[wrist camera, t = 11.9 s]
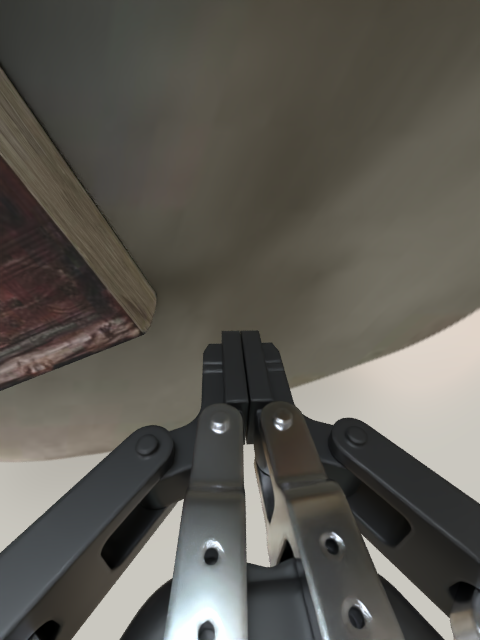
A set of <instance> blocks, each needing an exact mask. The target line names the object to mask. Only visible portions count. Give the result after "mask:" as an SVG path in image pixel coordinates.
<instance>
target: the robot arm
mask: <svg viewBox="0 0 480 640" xmlns="http://www.w3.org/2000/svg"><path fill="white" fill-rule="evenodd" d="M245 437H246V443H247V444H254V450H255V460H254V468H255V473H256V478H257V483H258V487H259V493H260V498H261V503H262V508H263V513H264V518H265V523H266V531H267V547H268V554H269V560H270V566H271V567H263V566H258V565H255V564H251V563H247V562H246V561H247V560H246V506H245V490H244V472H243V445H244V444H245ZM182 499H184V502H183V510H182V516H181V523H180V531H179V538H178V545H177V551H176V559H175V566H174V572H173V578H172V579H170V580H169V581H167V582H166V583H165V584H164V585H162V586H161V587H160V588H159V589H158V590H156V591H155V592H154V593H153V594H152V595H151V596H150V597H149V598H148V600H147V601H146V602H145V603H144V605H143V606H142V607H141V608H140V609H139V611H138V612H137V614H136V615H135V617H134V618H133V620H132V621H131V623H130V624H129V626H128V627H127V629H126V630H125V632H124V634H123V635H122V637H121V638H120V640H444V639H443V638H442V636H441V635H440V634H439V633H438V632H437V631H436V630H435V629H434V628H433V627H432V626H431V625H430V624H429V623H428V622H427V621H426V620H425V619H424V618H423V617H422V615H421V614H420V613H419V612H418V611H417V610H416V609H415V608H414V607H413V606H412V605H411V604H410V603H409V602H408V601H407V600H406V599H405V598H404V597H403V596H402V594H401V593H400V592H399V591H398V590H397V589H396V588H395V587H394V586H393V585H391V584H390V583H389V582H388V581H387V580H386V579H385V578H383V577H382V576H380V575H379V574H377V571H376V569H375V567H374V564H373V562H372V559H371V557H370V554H369V552H368V549H367V547H366V545H365V542H364V540H363V537H362V535H363V536H364V537H365V538H366V539H367V540H369V542H371V543H372V544H373V545H374V546H375V547H376V548H377V549H378V550H379V551H380V552H381V553H382V554H383V555H384V556H385V557H386V558H387V559H389V561H390V562H391V563H392V564H394V565H395V566H396V567H397V568H398V569H399V570H400V571H401V572H402V573H403V574H404V575H405V576H406V577H407V578H408V579H409V580H410V581H411V582H412V583H413V584H414V585H416V586H417V587H418V588H419V589H420V590H421V591H422V592H423V593H424V594H425V595H426V596H427V597H428V598H429V599H430V600H431V601H432V602H433V603H434V604H435V605H436V606H438V607H439V608H440V609H441V610H442V611H443V612H444V613H445V614H446V615H447V616H448V617H449V618H450V623H451V628H452V632H453V635H454V640H480V504H479V503H478V502H476V501H475V500H473V499H472V498H471V497H469V496H468V495H466V494H465V493H463V492H462V491H461V490H459V489H458V488H456V487H455V486H454V485H452V484H451V483H449V482H448V481H446V480H445V479H444V478H442V477H441V476H439V475H438V474H436V473H435V472H434V471H432V470H431V469H430V468H428V467H427V466H425V465H424V464H422V463H421V462H420V461H418V460H417V459H415V458H414V457H413V456H411V455H410V454H408V453H407V452H406V451H404V450H403V449H401V448H400V447H398V446H397V445H396V444H394V443H393V442H391V441H390V440H388V439H387V438H386V437H384V436H383V435H381V434H380V433H378V432H377V431H376V430H374V429H373V428H372V427H370V426H369V425H367V424H366V423H364V422H362V421H360V420H357V419H354V418H342V419H340V420H338V421H337V422H336V423H335V424H334V425H330V424H326V423H322V422H318V421H315V420H312V419H310V418H308V417H306V416H305V415H303V414H302V413H301V411H300V410H299V409H298V408H297V407H296V406H295V405H294V402H293V399H292V395H291V391H290V388H289V384H288V381H287V377H286V374H285V371H284V367H283V363H282V360H281V356H280V353H279V351H278V349H277V348H276V347H275V346H274V345H273V344H272V343H261V339H260V334H259V331H258V330H257V331H222V344H209V345H208V346H207V348H206V349H205V351H204V353H203V377H202V404H201V410H200V412H199V414H198V416H197V417H196V418H195V419H194V420H193V421H192V422H191V423H189V424H187V425H186V426H183V427H181V428H178V429H175V430H172V431H167V430H166V429H165V428H163V427H161V426H156V425H150V426H145V427H142V428H140V429H138V430H136V431H135V432H133V433H132V434H131V435H130V436H129V437H127V438H126V439H125V440H124V441H123V442H122V443H121V444H120V445H119V446H118V447H116V448H115V449H114V450H113V451H112V452H111V453H110V454H109V455H108V456H107V457H106V458H104V459H103V460H102V461H101V462H100V463H99V464H98V465H97V466H96V467H94V468H93V469H92V470H91V471H90V472H89V473H88V474H87V475H86V476H84V477H83V478H82V479H81V480H80V481H79V482H78V483H77V484H76V485H75V486H74V487H72V489H70V490H69V491H68V492H67V493H66V494H65V495H64V496H62V497H61V498H60V499H59V500H58V501H57V502H56V503H55V504H54V505H53V506H51V507H50V508H49V509H48V510H47V511H46V512H45V513H44V514H43V515H42V516H41V517H39V518H38V519H37V520H36V521H35V522H34V523H33V524H32V525H31V526H29V527H28V528H27V529H26V530H25V531H24V532H23V533H22V534H21V535H19V536H18V537H17V538H16V539H15V540H14V541H13V542H12V543H11V544H10V545H8V546H7V547H6V548H5V549H4V550H3V551H2V552H1V553H0V640H71V639H72V638H73V637H74V635H75V634H76V633H77V631H78V630H79V629H80V627H81V626H82V625H83V624H84V622H85V621H86V620H87V618H88V617H89V616H90V615H91V613H92V612H93V611H94V609H95V608H96V607H97V606H98V604H99V603H100V602H101V600H102V599H103V598H104V596H105V595H106V594H107V593H108V591H109V590H110V589H111V587H112V586H113V585H114V584H115V582H116V581H117V580H118V579H119V577H120V576H121V575H122V573H123V572H124V571H125V570H126V568H127V567H128V566H129V564H130V563H131V562H132V561H133V559H134V558H135V557H136V555H137V554H138V553H139V552H140V550H141V549H142V548H143V546H144V545H145V543H147V541H148V540H149V539H150V537H151V536H152V535H153V534H154V532H155V531H156V530H157V528H158V527H159V526H160V524H161V523H162V522H163V521H164V519H165V518H166V517H167V516H168V514H169V513H170V512H171V510H172V509H173V508H174V506H175V505H176V503H177V502H178V501H180V500H182ZM361 534H362V535H361Z"/></svg>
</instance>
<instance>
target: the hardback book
mask: <svg viewBox="0 0 480 640" xmlns="http://www.w3.org/2000/svg"><path fill="white" fill-rule="evenodd" d="M156 298H157V294H156V293H155V292H154V290H153V289H152V287H151V286H150V284H149V283H148V281H147V280H146V278H145V277H144V276H143V274H142V273H141V271H140V270H139V268H138V267H137V265H136V264H135V262H134V261H133V259H132V258H131V257H130V255H129V254H128V252H127V251H126V249H125V248H124V246H123V245H122V243H121V242H120V241H119V239H118V238H117V236H116V235H115V233H114V232H113V230H112V229H111V227H110V226H109V224H108V223H107V222H106V220H105V219H104V217H103V216H102V214H101V213H100V211H99V210H98V208H97V207H96V205H95V204H94V203H93V201H92V200H91V198H90V197H89V195H88V194H87V192H86V191H85V189H84V188H83V187H82V185H81V184H80V182H79V181H78V179H77V178H76V176H75V175H74V173H73V172H72V170H71V169H70V168H69V166H68V165H67V163H66V162H65V160H64V159H63V157H62V156H61V154H60V153H59V151H58V150H57V149H56V147H55V146H54V144H53V143H52V141H51V140H50V138H49V137H48V135H47V134H46V133H45V131H44V130H43V128H42V127H41V125H40V124H39V122H38V121H37V119H36V118H35V116H34V115H33V114H32V112H31V111H30V109H29V108H28V106H27V105H26V103H25V102H24V100H23V99H22V98H21V96H20V95H19V93H18V92H17V90H16V89H15V87H14V86H13V84H12V83H11V81H10V80H9V79H8V77H7V76H6V74H5V73H4V71H3V70H2V68H1V67H0V391H1V390H4V389H6V388H9V387H11V386H14V385H16V384H19V383H22V382H24V381H27V380H29V379H32V378H34V377H37V376H39V375H42V374H45V373H47V372H50V371H52V370H55V369H57V368H60V367H62V366H65V365H68V364H70V363H73V362H75V361H78V360H80V359H83V358H85V357H88V356H90V355H93V354H96V353H98V352H101V351H103V350H106V349H108V348H111V347H113V346H116V345H119V344H121V343H124V342H126V341H129V340H131V339H134V338H136V337H139V336H142V335H144V334H145V333H146V331H147V330H148V329H149V328H150V326H151V323H152V319H153V316H154V313H155V309H156Z"/></svg>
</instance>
